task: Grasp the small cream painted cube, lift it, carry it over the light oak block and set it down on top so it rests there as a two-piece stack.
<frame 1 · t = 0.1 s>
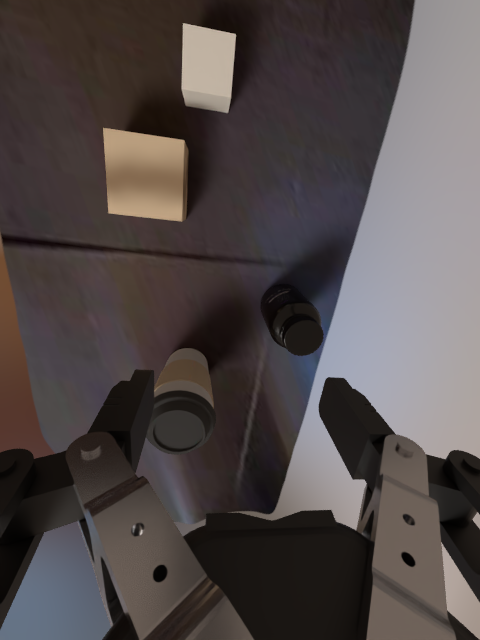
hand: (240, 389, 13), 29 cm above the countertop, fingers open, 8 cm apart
oak block: (155, 182, 35), on the countertop
supplement bottle: (280, 303, 43), on the countertop
cream cube: (208, 83, 31), on the countertop
coffee cup: (187, 365, 45), on the countertop
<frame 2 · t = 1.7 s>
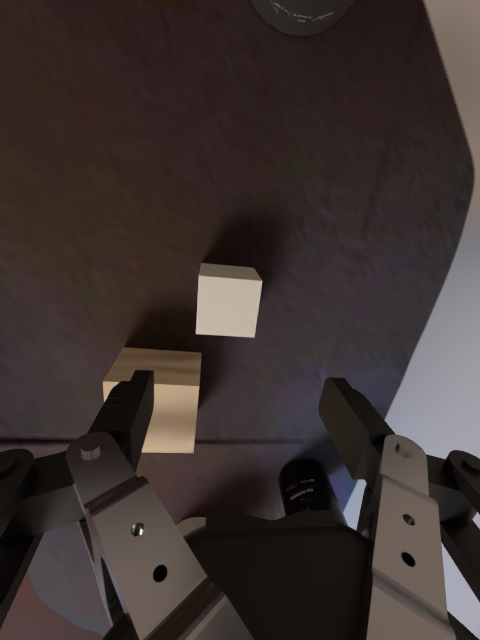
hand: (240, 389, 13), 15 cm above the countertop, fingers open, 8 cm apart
oak block: (162, 380, 30), on the countertop
supplement bottle: (300, 473, 38), on the countertop
cream cube: (225, 290, 27), on the countertop
coffee cup: (196, 530, 41), on the countertop
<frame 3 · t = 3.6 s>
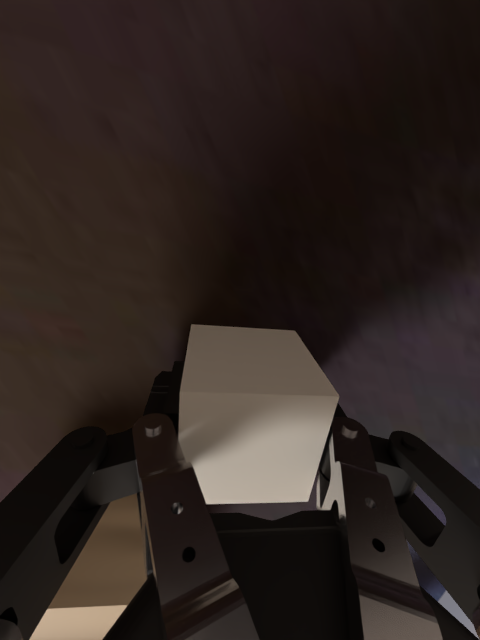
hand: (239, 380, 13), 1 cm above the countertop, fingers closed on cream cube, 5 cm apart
oak block: (126, 512, 17), on the countertop
cream cube: (238, 372, 14), on the countertop, touching gripper
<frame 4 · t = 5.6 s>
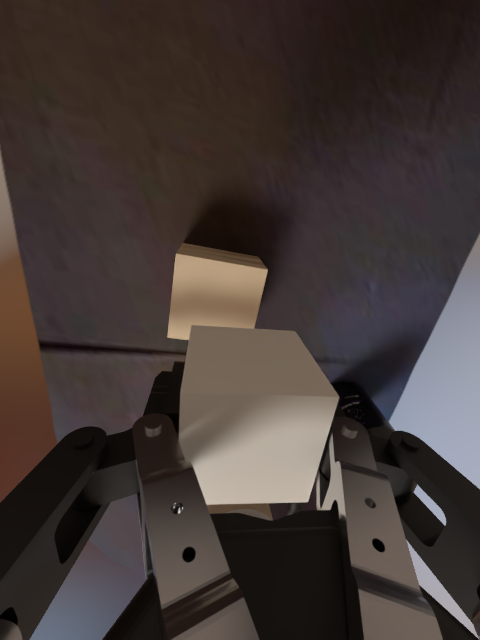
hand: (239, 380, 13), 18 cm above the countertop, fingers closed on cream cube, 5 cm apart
oak block: (215, 285, 30), on the countertop
supplement bottle: (339, 398, 39), on the countertop
cream cube: (239, 372, 14), point 18 cm above the countertop, touching gripper
coffee cup: (233, 457, 42), on the countertop
when the fingers open (8 cm above the countertop, at t = 8.0 s): cream cube drops 1 cm, resting on oak block.
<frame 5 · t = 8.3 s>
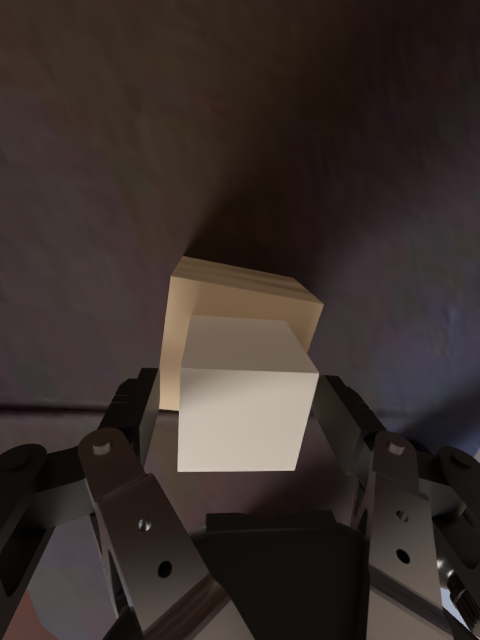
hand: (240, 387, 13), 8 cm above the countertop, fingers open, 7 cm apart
oak block: (228, 318, 21), on the countertop, touching cream cube
supplement bottle: (394, 460, 29), on the countertop
cream cube: (234, 359, 15), point 6 cm above the countertop, touching oak block
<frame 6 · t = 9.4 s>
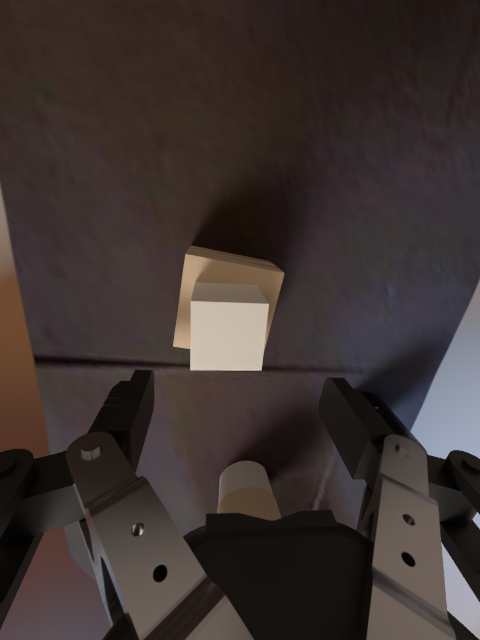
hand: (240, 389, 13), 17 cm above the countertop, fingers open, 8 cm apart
oak block: (223, 291, 28), on the countertop
supplement bottle: (356, 410, 36), on the countertop
cream cube: (224, 312, 23), point 6 cm above the countertop
coffee cup: (243, 477, 39), on the countertop
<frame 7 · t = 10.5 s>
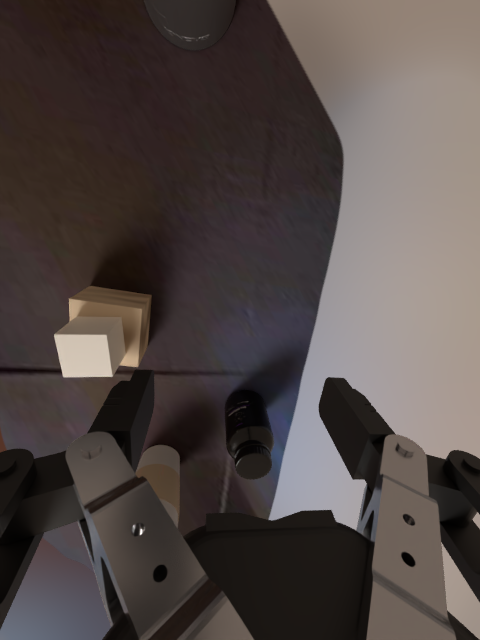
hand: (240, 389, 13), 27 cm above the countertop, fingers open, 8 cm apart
oak block: (120, 317, 38), on the countertop, touching cream cube
supplement bottle: (244, 404, 46), on the countertop
cream cube: (102, 335, 33), point 6 cm above the countertop, touching oak block
coffee cup: (160, 458, 49), on the countertop
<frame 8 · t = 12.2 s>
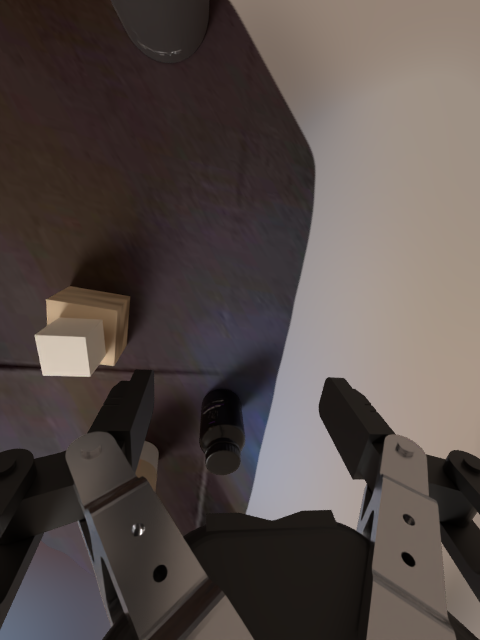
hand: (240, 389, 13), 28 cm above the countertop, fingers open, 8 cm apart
oak block: (100, 316, 40), on the countertop, touching cream cube
supplement bottle: (220, 403, 48), on the countertop
cream cube: (83, 336, 34), point 6 cm above the countertop, touching oak block
coffee cup: (140, 453, 50), on the countertop
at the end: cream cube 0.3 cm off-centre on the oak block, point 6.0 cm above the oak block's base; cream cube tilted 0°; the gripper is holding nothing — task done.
